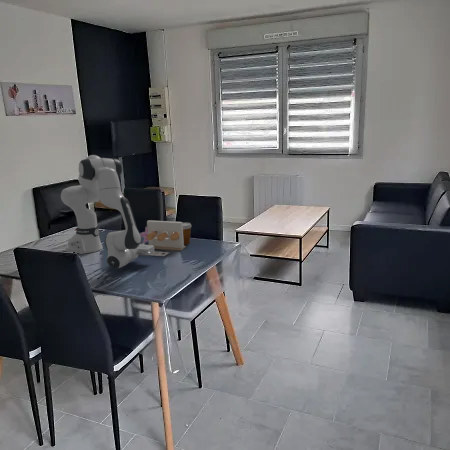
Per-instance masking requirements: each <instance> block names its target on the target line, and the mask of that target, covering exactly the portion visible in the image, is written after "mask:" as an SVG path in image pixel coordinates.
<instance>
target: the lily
mask: <svg viewBox="0 0 450 450" xmlns="http://www.w3.org/2000/svg"><path fill="white" fill-rule="evenodd" d="M152 232H154V231H152ZM139 233H140V235H141V238H143V242H142V243H145V244H146V242H149V240H148V239H147V238H146V236H147V235H148V227H147V226H145V230H144V231H143V232H139Z"/></svg>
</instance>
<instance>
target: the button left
mask: <svg viewBox="0 0 450 450" xmlns="http://www.w3.org/2000/svg"><path fill="white" fill-rule="evenodd" d="M155 237H157V231H154V232H152V233H150V234H148V235H147V236H146V238H147V239H148V240H152V239H153V238H155Z"/></svg>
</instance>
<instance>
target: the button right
mask: <svg viewBox="0 0 450 450" xmlns="http://www.w3.org/2000/svg"><path fill="white" fill-rule="evenodd" d="M173 233H174V234H172V235H171V236H170V238H171V240H176V239H179V232H173Z"/></svg>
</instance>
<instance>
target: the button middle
mask: <svg viewBox="0 0 450 450" xmlns="http://www.w3.org/2000/svg"><path fill="white" fill-rule="evenodd" d="M165 238H168V232H163V233H162V234H160V235H158V236H157V239H158V240H159V241H162V240H164V239H165Z"/></svg>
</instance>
